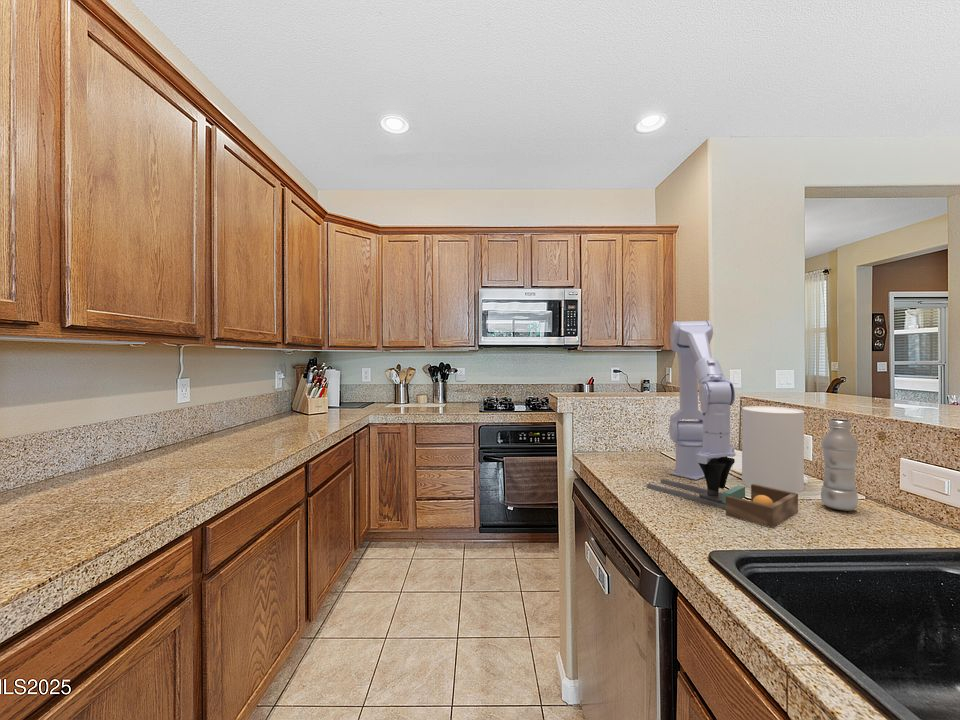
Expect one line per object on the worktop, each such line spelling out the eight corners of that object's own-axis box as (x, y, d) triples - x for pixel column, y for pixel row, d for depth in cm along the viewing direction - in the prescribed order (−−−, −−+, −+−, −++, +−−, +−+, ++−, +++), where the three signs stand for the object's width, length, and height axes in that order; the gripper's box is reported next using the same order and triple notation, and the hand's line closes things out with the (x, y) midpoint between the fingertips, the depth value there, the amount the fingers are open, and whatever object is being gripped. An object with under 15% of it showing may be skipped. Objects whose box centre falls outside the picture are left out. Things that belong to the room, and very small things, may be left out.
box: (752, 500, 102) (752, 483, 102) (797, 511, 95) (798, 493, 95) (725, 514, 94) (725, 496, 94) (772, 528, 87) (772, 508, 87)
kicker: (712, 492, 107) (712, 466, 107) (745, 501, 101) (745, 473, 101) (695, 499, 102) (695, 472, 102) (729, 509, 96) (729, 479, 96)
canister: (760, 474, 123) (760, 405, 123) (814, 487, 111) (815, 410, 111) (731, 481, 117) (731, 408, 117) (785, 496, 105) (785, 414, 105)
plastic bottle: (849, 505, 99) (850, 418, 98) (864, 516, 92) (865, 423, 92) (815, 502, 101) (816, 417, 100) (828, 512, 94) (828, 421, 94)
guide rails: (662, 482, 117) (662, 478, 117) (742, 502, 101) (742, 498, 101) (647, 487, 113) (646, 483, 113) (727, 509, 97) (727, 505, 97)
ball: (765, 514, 96) (752, 498, 98) (781, 506, 93) (767, 490, 95) (758, 519, 93) (744, 502, 96) (774, 511, 91) (760, 493, 93)
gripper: (719, 438, 95) (719, 500, 95) (748, 430, 103) (747, 487, 103) (687, 433, 100) (687, 491, 100) (717, 426, 109) (717, 480, 109)
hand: (716, 488), depth 102 cm, fingers closed on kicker, 2 cm apart
